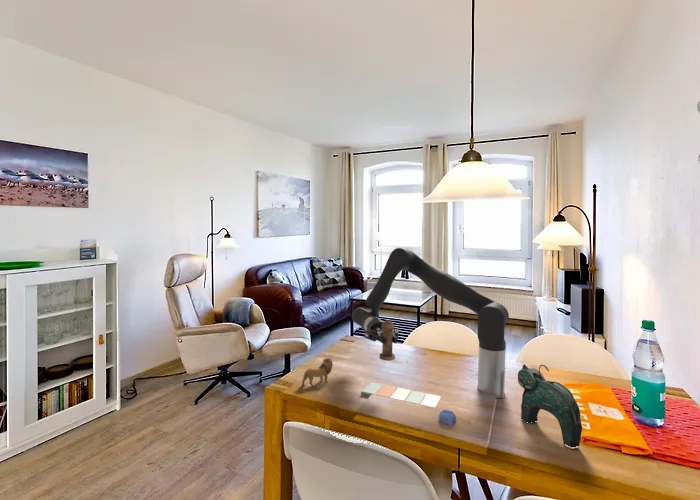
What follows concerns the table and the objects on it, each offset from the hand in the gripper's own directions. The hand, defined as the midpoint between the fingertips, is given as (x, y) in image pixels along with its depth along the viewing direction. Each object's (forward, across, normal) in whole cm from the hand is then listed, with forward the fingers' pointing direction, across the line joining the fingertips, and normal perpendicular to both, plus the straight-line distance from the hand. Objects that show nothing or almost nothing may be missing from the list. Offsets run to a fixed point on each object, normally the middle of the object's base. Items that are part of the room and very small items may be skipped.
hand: (390, 341), depth 131 cm
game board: (+1, +4, +21) cm, 21 cm away
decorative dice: (+21, +11, +21) cm, 32 cm away
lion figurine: (-18, -23, +21) cm, 36 cm away
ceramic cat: (+31, +39, +21) cm, 54 cm away
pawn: (-3, 0, +7) cm, 8 cm away
